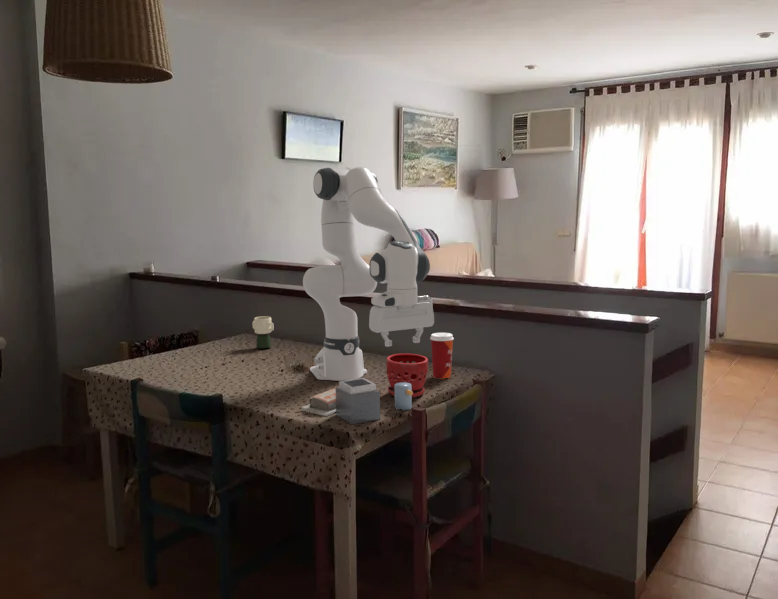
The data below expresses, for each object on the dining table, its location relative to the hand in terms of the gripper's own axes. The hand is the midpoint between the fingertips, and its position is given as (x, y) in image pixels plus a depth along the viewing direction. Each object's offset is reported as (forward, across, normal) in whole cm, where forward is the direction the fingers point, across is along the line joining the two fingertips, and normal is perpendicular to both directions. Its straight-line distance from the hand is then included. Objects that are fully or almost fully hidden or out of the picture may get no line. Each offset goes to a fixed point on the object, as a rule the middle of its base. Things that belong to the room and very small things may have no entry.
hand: (402, 344), depth 197 cm
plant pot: (+19, -8, -11) cm, 24 cm away
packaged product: (+20, +17, -12) cm, 29 cm away
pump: (+19, 0, 0) cm, 19 cm away
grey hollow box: (+19, +15, +1) cm, 25 cm away
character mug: (+19, +9, -100) cm, 102 cm away
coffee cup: (+19, -29, -23) cm, 42 cm away
